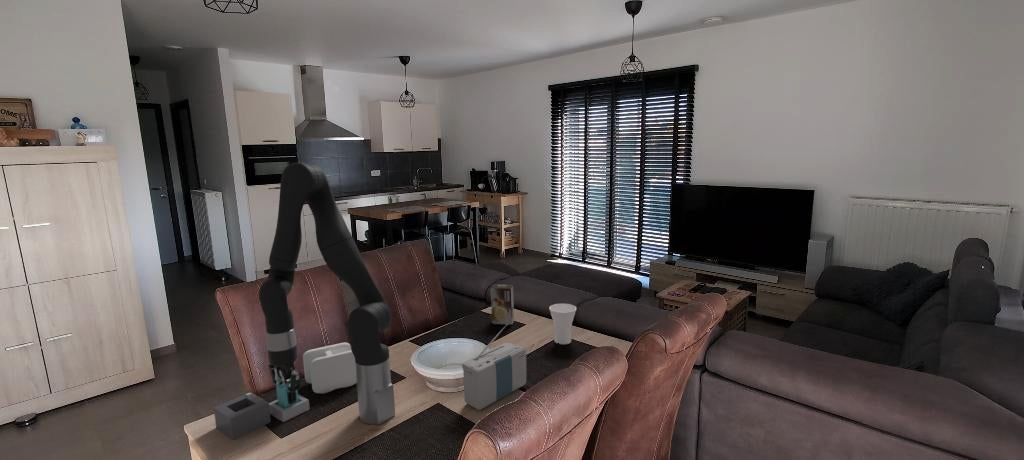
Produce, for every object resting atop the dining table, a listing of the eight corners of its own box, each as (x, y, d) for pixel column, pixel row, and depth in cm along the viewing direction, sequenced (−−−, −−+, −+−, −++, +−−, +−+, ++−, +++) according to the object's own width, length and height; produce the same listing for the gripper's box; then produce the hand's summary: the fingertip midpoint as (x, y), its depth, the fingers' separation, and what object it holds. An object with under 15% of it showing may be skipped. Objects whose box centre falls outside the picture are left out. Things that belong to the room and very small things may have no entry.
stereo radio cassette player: (480, 414, 136) (478, 348, 133) (460, 404, 142) (458, 340, 139) (527, 387, 152) (527, 326, 148) (508, 378, 157) (507, 320, 154)
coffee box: (514, 319, 210) (514, 284, 208) (512, 325, 204) (511, 288, 201) (494, 318, 212) (493, 283, 209) (491, 324, 206) (490, 287, 203)
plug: (299, 409, 140) (296, 379, 138) (286, 415, 137) (282, 385, 135) (292, 405, 142) (288, 375, 141) (278, 411, 139) (275, 381, 138)
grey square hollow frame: (309, 409, 141) (308, 399, 140) (283, 422, 134) (282, 412, 134) (294, 401, 145) (293, 392, 145) (268, 413, 139) (267, 403, 138)
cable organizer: (310, 397, 147) (307, 362, 145) (305, 383, 156) (301, 350, 154) (360, 384, 155) (357, 350, 153) (352, 371, 164) (349, 339, 162)
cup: (580, 339, 188) (581, 306, 185) (569, 348, 179) (569, 314, 177) (556, 334, 193) (556, 301, 191) (544, 343, 185) (544, 309, 182)
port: (270, 422, 134) (268, 401, 133) (233, 439, 126) (230, 418, 125) (253, 411, 140) (250, 391, 139) (216, 427, 132) (213, 406, 131)
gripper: (308, 345, 135) (314, 401, 138) (281, 335, 143) (287, 388, 146) (282, 355, 129) (289, 413, 132) (256, 343, 137) (262, 399, 140)
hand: (288, 400), depth 139 cm, fingers closed on plug, 4 cm apart
